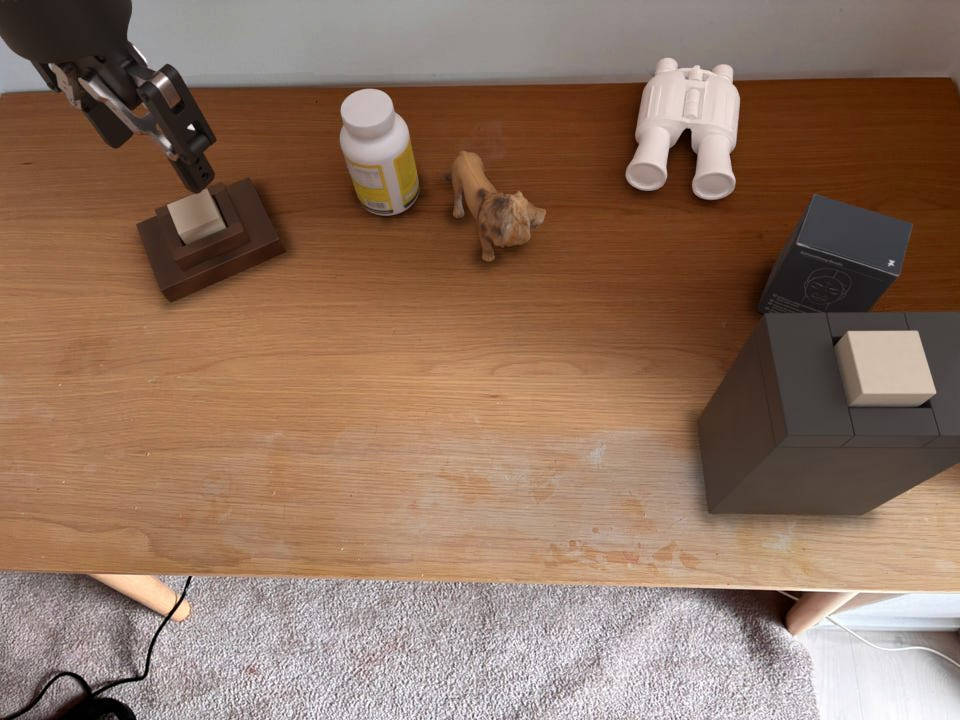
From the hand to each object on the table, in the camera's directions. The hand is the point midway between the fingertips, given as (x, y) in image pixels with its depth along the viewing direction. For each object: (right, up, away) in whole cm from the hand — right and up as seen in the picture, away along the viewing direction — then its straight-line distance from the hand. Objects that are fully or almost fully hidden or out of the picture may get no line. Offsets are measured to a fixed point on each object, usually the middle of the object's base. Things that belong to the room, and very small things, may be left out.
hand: (162, 162), depth 51 cm
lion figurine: (+25, -2, +17) cm, 30 cm away
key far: (-3, -2, +15) cm, 15 cm away
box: (+54, -10, +12) cm, 56 cm away
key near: (+47, -15, -11) cm, 51 cm away
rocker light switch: (-3, -3, +18) cm, 19 cm away
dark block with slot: (+48, -23, +5) cm, 54 cm away
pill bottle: (+14, +2, +20) cm, 25 cm away
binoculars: (+45, +8, +21) cm, 50 cm away
